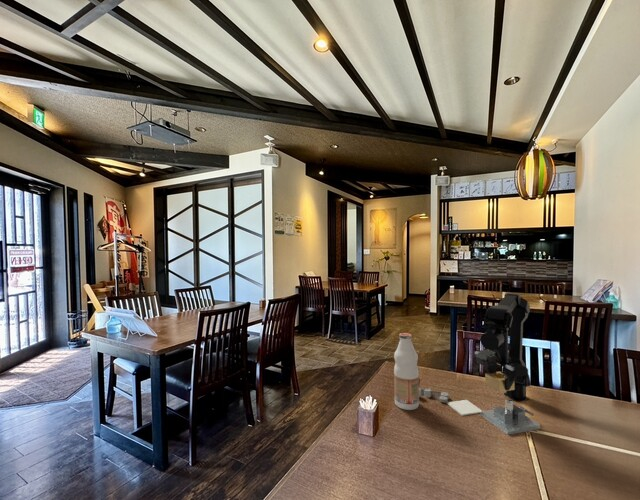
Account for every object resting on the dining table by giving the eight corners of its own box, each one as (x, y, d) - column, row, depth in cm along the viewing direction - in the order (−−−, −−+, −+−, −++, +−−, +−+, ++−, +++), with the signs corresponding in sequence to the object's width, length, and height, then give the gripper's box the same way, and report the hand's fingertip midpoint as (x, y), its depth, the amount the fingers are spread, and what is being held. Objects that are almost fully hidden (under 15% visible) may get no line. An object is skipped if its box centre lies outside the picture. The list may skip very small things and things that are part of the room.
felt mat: (466, 400, 124) (466, 399, 124) (482, 412, 115) (482, 411, 115) (446, 403, 122) (446, 402, 122) (461, 415, 113) (461, 414, 113)
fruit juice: (395, 409, 118) (393, 337, 118) (394, 397, 127) (392, 330, 127) (420, 411, 116) (419, 338, 116) (417, 399, 126) (416, 331, 125)
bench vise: (513, 410, 116) (513, 390, 116) (542, 428, 104) (542, 406, 104) (481, 415, 113) (480, 395, 113) (507, 434, 101) (507, 412, 101)
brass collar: (499, 382, 114) (499, 371, 114) (514, 389, 108) (514, 378, 108) (485, 384, 113) (485, 373, 113) (499, 392, 106) (499, 380, 106)
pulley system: (424, 411, 118) (455, 402, 123) (423, 399, 118) (454, 390, 123) (386, 384, 144) (413, 377, 149) (385, 374, 144) (412, 368, 149)
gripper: (461, 337, 117) (462, 378, 118) (501, 353, 99) (501, 401, 99) (486, 335, 120) (487, 374, 120) (529, 350, 102) (529, 397, 102)
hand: (499, 386), depth 110 cm, fingers closed on brass collar, 6 cm apart
